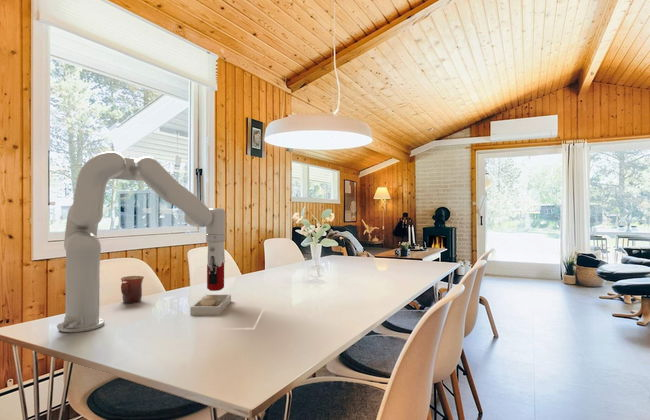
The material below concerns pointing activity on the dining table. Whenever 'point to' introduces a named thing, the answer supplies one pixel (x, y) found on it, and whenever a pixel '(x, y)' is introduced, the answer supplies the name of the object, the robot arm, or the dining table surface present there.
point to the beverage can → (219, 279)
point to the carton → (211, 310)
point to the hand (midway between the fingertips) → (215, 281)
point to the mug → (131, 288)
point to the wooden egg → (208, 301)
